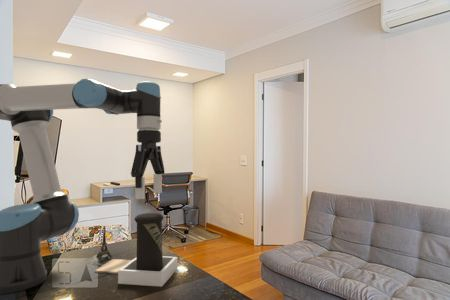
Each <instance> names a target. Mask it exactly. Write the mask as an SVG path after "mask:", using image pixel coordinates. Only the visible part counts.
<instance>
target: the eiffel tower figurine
mask: <svg viewBox="0 0 450 300" xmlns="http://www.w3.org/2000/svg"><path fill="white" fill-rule="evenodd" d="M105 228H106V227H105V226H103V227H102V229H103V231H102V233H103V234H102V243H101V247H100V249H99V251H98V253H96V254H95V255H92V256H90V257H88V258H86V259H84V263H86V264H91V265H94V266H103V265H104V263H99V262H101V261H106V260H112V259H114V257H113V256H112V254H111V253H110V251H109V248H108V246H107V240H106V230H105Z"/></svg>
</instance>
